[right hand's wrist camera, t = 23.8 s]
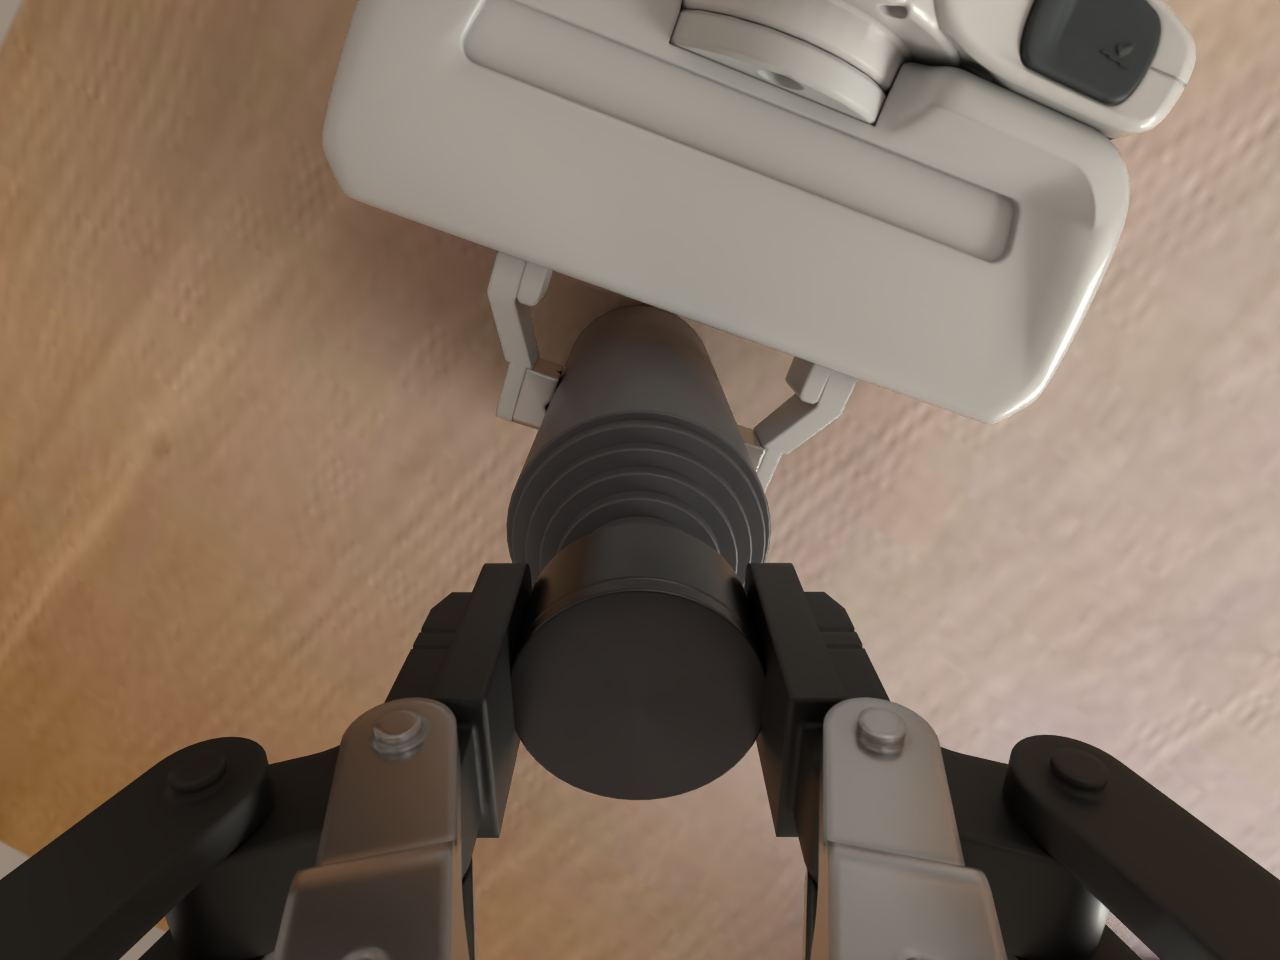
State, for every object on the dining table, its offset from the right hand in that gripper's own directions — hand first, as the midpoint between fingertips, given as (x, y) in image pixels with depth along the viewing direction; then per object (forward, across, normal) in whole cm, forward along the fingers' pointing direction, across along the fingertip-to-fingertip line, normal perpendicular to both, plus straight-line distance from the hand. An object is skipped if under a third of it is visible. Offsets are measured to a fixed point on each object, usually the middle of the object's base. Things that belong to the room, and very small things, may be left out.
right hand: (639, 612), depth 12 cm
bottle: (+17, 0, 0) cm, 17 cm away
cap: (-2, 0, 0) cm, 2 cm away
